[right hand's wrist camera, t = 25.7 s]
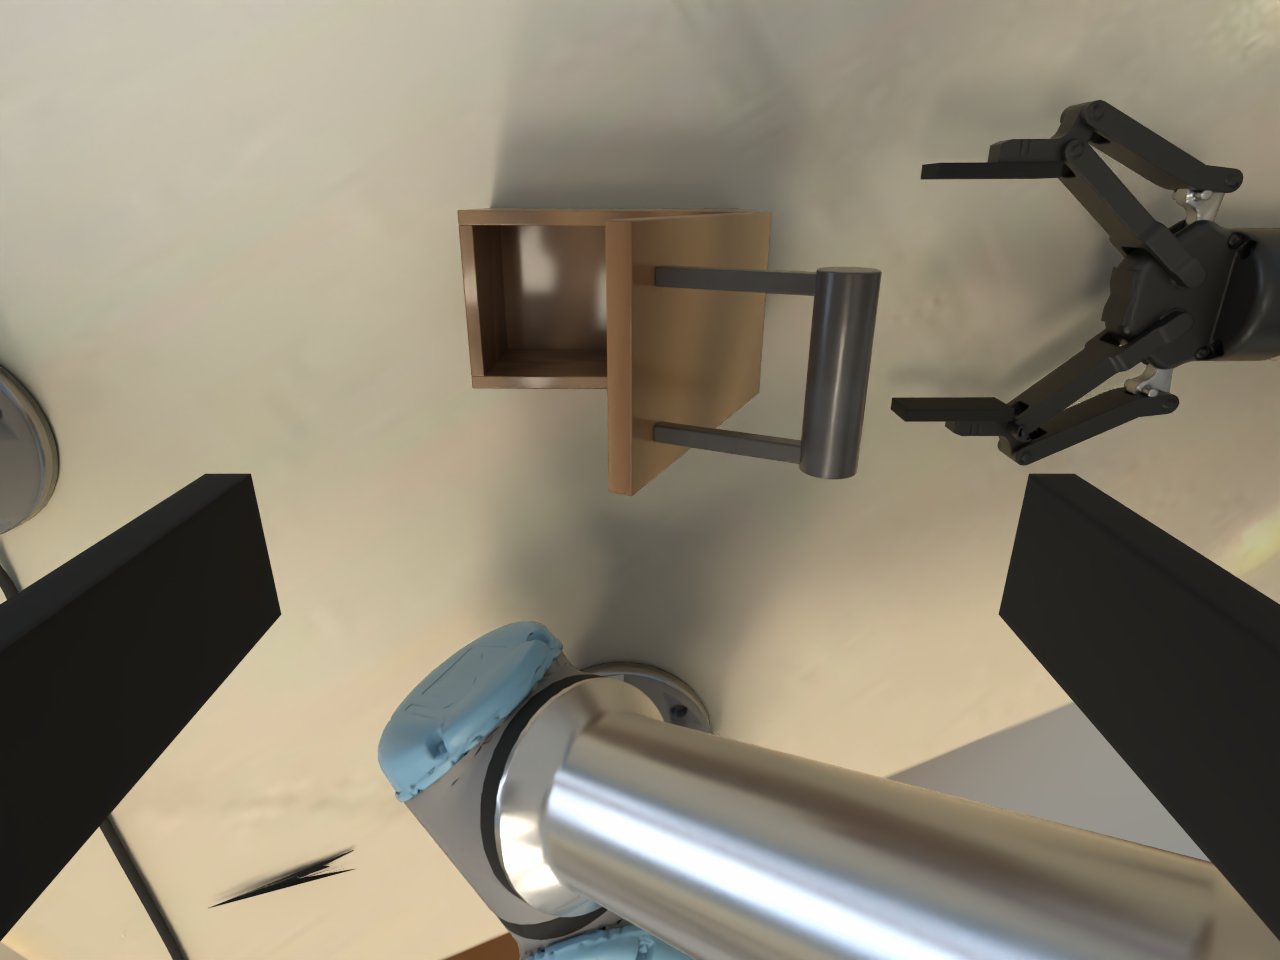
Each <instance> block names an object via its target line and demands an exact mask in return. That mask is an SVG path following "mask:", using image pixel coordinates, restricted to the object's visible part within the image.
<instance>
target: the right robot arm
mask: <svg viewBox="0 0 1280 960" xmlns="http://www.w3.org/2000/svg"><path fill="white" fill-rule="evenodd" d="M57 474H58V457H57V450H56V445H55V441H54V438H53V435H52V432H51V429H50V427H49V425H48V423H47V421H46V418H45V416H44V415H43V413H42V411H41V410H40V408H39V406H38V405H37V403H36V402H35V401H34V399H33V398H32V396H31V395H30V394H29V393H28V392H27V390H26V389H25V388H24V387H23V386H22V385H21V384H20V383H19V382H18V381H17V380H16V379H15V378H14V377H13V376H12V375H11V374H10V373H9V372H8V371H6V370H5V369H4V368H3V367H1V366H0V534H3V533H5V532H7V531H9V530H11V529H13V528H15V527H17V526H19V525H20V524H22V523H24V522H26V521H28V520H29V519H31V518H32V517H34V516H35V515H36V514H37V513H38V512H40V511H41V510H42V508H43V507H44V506H45V505H46V503H47V502H48V500H49V499H50V497H51V495H52V493H53V490H54V487H55V484H56V480H57ZM0 587H1V589H2V590H3V592H4V594H5V596H6V598H7V601H5V602H4V603H2V604H0V941H1V940H2V939H3V938H4V936H5V935H6V934H7V933H8V932H9V931H10V929H11V928H12V927H13V926H14V925H15V924H16V922H17V921H18V920H19V919H20V918H21V917H22V915H23V914H24V913H25V912H26V911H27V910H28V908H29V907H30V906H31V905H32V904H33V903H34V902H35V900H36V899H37V898H38V897H39V896H40V895H41V893H42V892H43V891H44V890H45V889H46V888H47V886H48V885H49V884H50V883H51V882H52V881H53V879H54V878H55V877H56V876H57V875H58V874H59V872H60V871H61V870H62V869H63V868H64V867H65V865H66V864H67V863H68V862H69V861H70V860H71V858H72V857H73V856H74V855H75V854H76V853H77V851H78V850H79V849H80V848H81V847H82V846H83V844H84V843H85V842H86V841H87V840H88V839H89V838H90V836H91V835H92V834H93V833H94V832H95V831H96V829H97V828H98V827H100V828H101V830H102V832H103V834H104V836H105V838H106V839H107V841H108V843H109V845H110V847H111V848H112V850H113V852H114V854H115V856H116V857H117V859H118V861H119V863H120V865H121V866H122V868H123V870H124V872H125V874H126V875H127V877H128V879H129V881H130V882H131V884H132V886H133V888H134V889H135V891H136V893H137V895H138V896H139V898H140V900H141V902H142V904H143V905H144V907H145V909H146V911H147V913H148V914H149V916H150V918H151V920H152V922H153V923H154V925H155V927H156V929H157V931H158V932H159V934H160V936H161V938H162V940H163V942H164V943H165V945H166V947H167V949H168V951H169V953H170V955H171V957H172V959H173V960H185V959H184V957H183V955H182V953H181V951H180V949H179V947H178V945H177V944H176V942H175V940H174V938H173V936H172V934H171V932H170V930H169V928H168V927H167V925H166V923H165V921H164V919H163V917H162V916H161V914H160V912H159V910H158V908H157V906H156V904H155V903H154V901H153V899H152V897H151V895H150V894H149V892H148V890H147V888H146V886H145V885H144V883H143V881H142V879H141V878H140V876H139V874H138V872H137V870H136V869H135V867H134V865H133V863H132V861H131V859H130V858H129V856H128V854H127V852H126V850H125V848H124V847H123V845H122V843H121V841H120V839H119V837H118V836H117V834H116V832H115V830H114V828H113V826H112V825H111V823H110V821H109V819H108V815H109V814H110V813H111V812H112V811H113V810H114V808H115V807H116V806H117V805H118V804H119V803H120V801H121V800H122V799H123V798H124V797H125V796H126V794H127V793H128V792H129V791H130V790H131V789H132V787H133V786H134V785H135V784H136V783H137V782H138V780H139V779H140V778H141V777H142V776H143V775H144V774H145V772H146V771H147V770H148V769H149V768H150V767H151V765H152V764H153V763H154V762H155V761H156V760H157V758H158V757H159V756H160V755H161V754H162V753H163V751H164V750H165V749H166V748H167V747H168V746H169V744H170V743H171V742H172V741H173V740H174V739H175V737H176V736H177V735H178V734H179V733H180V732H181V730H182V729H183V728H184V727H185V726H186V725H187V723H188V722H189V721H190V720H191V719H192V718H193V716H194V715H195V714H196V713H197V712H198V711H199V710H200V708H201V707H202V706H203V705H204V704H205V703H206V701H207V700H208V699H209V698H210V697H211V696H212V694H213V693H214V692H215V691H216V690H217V689H218V687H219V686H220V685H221V684H222V683H223V682H224V680H225V679H226V678H227V677H228V676H229V675H230V673H231V672H232V671H233V670H234V669H235V668H236V666H237V665H238V664H239V663H240V662H241V661H242V659H243V658H244V657H245V656H246V655H247V654H248V653H249V651H250V650H251V649H252V648H253V647H254V646H255V644H256V643H257V642H258V641H259V640H260V639H261V637H262V636H263V635H264V634H265V633H266V632H267V630H268V629H269V628H270V627H271V626H272V625H273V623H274V622H275V621H276V620H277V619H278V618H279V616H280V615H281V611H280V606H279V602H278V597H277V592H276V588H275V583H274V579H273V574H272V569H271V565H270V560H269V555H268V551H267V546H266V542H265V537H264V532H263V528H262V523H261V518H260V514H259V509H258V505H257V500H256V495H255V491H254V486H253V481H252V477H251V474H204V475H203V476H201V477H200V478H198V479H197V480H195V481H193V482H192V483H190V484H189V485H187V486H186V487H184V488H182V489H181V490H179V491H178V492H176V493H175V494H173V495H171V496H170V497H168V498H167V499H165V500H164V501H162V502H160V503H159V504H157V505H156V506H154V507H153V508H151V509H149V510H148V511H146V512H145V513H143V514H142V515H140V516H139V517H137V518H135V519H134V520H132V521H131V522H129V523H128V524H126V525H124V526H123V527H121V528H120V529H118V530H117V531H115V532H113V533H112V534H110V535H109V536H107V537H106V538H104V539H102V540H101V541H99V542H98V543H96V544H95V545H93V546H91V547H90V548H88V549H87V550H85V551H84V552H82V553H80V554H79V555H77V556H76V557H74V558H73V559H71V560H69V561H68V562H66V563H65V564H63V565H62V566H60V567H58V568H57V569H55V570H54V571H52V572H51V573H49V574H47V575H46V576H44V577H43V578H41V579H40V580H38V581H36V582H35V583H33V584H32V585H30V586H29V587H27V588H26V589H24V590H22V591H21V592H19V593H18V590H17V588H16V587H15V585H14V583H13V582H12V580H11V579H10V577H9V576H8V574H7V573H6V572H5V570H4V569H3V568H2V566H1V565H0ZM999 615H1000V616H1001V618H1002V619H1003V620H1004V621H1005V622H1006V623H1007V625H1008V626H1009V627H1010V628H1011V629H1012V630H1013V632H1014V633H1015V634H1016V635H1017V636H1018V637H1019V639H1020V640H1021V641H1022V642H1023V643H1024V644H1025V646H1026V647H1027V648H1028V649H1029V650H1030V651H1031V653H1032V654H1033V655H1034V656H1035V657H1036V658H1037V659H1038V661H1039V662H1040V663H1041V664H1042V665H1043V666H1044V668H1045V669H1046V670H1047V671H1048V672H1049V673H1050V675H1051V676H1052V677H1053V678H1054V679H1055V680H1056V682H1057V683H1058V684H1059V685H1060V686H1061V687H1062V689H1063V690H1064V691H1065V692H1066V693H1067V694H1068V696H1069V697H1070V698H1071V699H1072V700H1073V701H1074V703H1075V704H1076V705H1077V706H1078V707H1079V708H1080V709H1081V711H1082V712H1083V713H1084V714H1085V715H1086V716H1087V718H1088V719H1089V720H1090V721H1091V722H1092V723H1093V725H1094V726H1095V727H1096V728H1097V729H1098V730H1099V732H1100V733H1101V734H1102V735H1103V736H1104V737H1105V739H1106V740H1107V741H1108V742H1109V743H1110V744H1111V746H1112V747H1113V748H1114V749H1115V750H1116V751H1117V753H1118V754H1119V755H1120V756H1121V757H1122V758H1123V760H1124V761H1125V762H1126V763H1127V764H1128V765H1129V766H1130V768H1131V769H1132V770H1133V771H1134V772H1135V774H1136V775H1137V776H1138V777H1139V778H1140V779H1141V780H1142V782H1143V783H1144V784H1145V785H1146V786H1147V787H1148V789H1149V790H1150V791H1151V792H1152V793H1153V794H1154V796H1155V797H1156V798H1157V799H1158V800H1159V801H1160V803H1161V804H1162V805H1163V806H1164V807H1165V808H1166V809H1167V811H1168V812H1169V813H1170V814H1171V815H1172V817H1173V818H1174V819H1175V820H1176V821H1177V822H1178V824H1179V825H1180V826H1181V827H1182V828H1183V829H1184V830H1185V832H1186V833H1187V834H1188V835H1189V836H1190V837H1191V839H1192V840H1193V841H1194V842H1195V843H1196V844H1197V846H1198V847H1199V848H1200V849H1201V850H1202V851H1203V853H1204V854H1205V855H1206V856H1207V857H1208V858H1209V860H1210V861H1211V862H1212V863H1213V864H1214V865H1215V867H1216V868H1217V869H1218V870H1219V871H1220V872H1221V874H1222V875H1223V876H1224V877H1225V878H1226V879H1227V881H1228V882H1229V883H1230V884H1231V885H1232V886H1233V888H1234V889H1235V890H1236V891H1237V892H1238V893H1239V895H1240V896H1241V897H1242V898H1243V899H1244V900H1245V902H1246V903H1247V904H1248V905H1249V906H1250V907H1251V908H1252V910H1253V911H1254V912H1255V913H1256V914H1257V915H1258V917H1259V918H1260V919H1261V920H1262V921H1263V922H1264V924H1265V925H1266V926H1267V927H1268V928H1269V929H1270V931H1271V932H1272V933H1273V934H1274V935H1275V936H1276V938H1277V939H1278V940H1279V941H1280V604H1278V603H1276V602H1275V601H1273V600H1272V599H1270V598H1269V597H1267V596H1265V595H1264V594H1262V593H1261V592H1259V591H1258V590H1256V589H1254V588H1253V587H1251V586H1250V585H1248V584H1247V583H1245V582H1243V581H1242V580H1240V579H1239V578H1237V577H1236V576H1234V575H1233V574H1231V573H1229V572H1228V571H1226V570H1225V569H1223V568H1222V567H1220V566H1218V565H1217V564H1215V563H1214V562H1212V561H1211V560H1209V559H1207V558H1206V557H1204V556H1203V555H1201V554H1200V553H1198V552H1196V551H1195V550H1193V549H1192V548H1190V547H1189V546H1187V545H1185V544H1184V543H1182V542H1181V541H1179V540H1178V539H1176V538H1174V537H1173V536H1171V535H1170V534H1168V533H1167V532H1165V531H1163V530H1162V529H1160V528H1159V527H1157V526H1156V525H1154V524H1152V523H1151V522H1149V521H1148V520H1146V519H1145V518H1143V517H1141V516H1140V515H1138V514H1137V513H1135V512H1134V511H1132V510H1131V509H1129V508H1127V507H1126V506H1124V505H1123V504H1121V503H1120V502H1118V501H1116V500H1115V499H1113V498H1112V497H1110V496H1109V495H1107V494H1105V493H1104V492H1102V491H1101V490H1099V489H1098V488H1096V487H1094V486H1093V485H1091V484H1090V483H1088V482H1087V481H1085V480H1083V479H1082V478H1080V477H1079V476H1077V475H1076V474H1029V477H1028V481H1027V486H1026V491H1025V495H1024V500H1023V505H1022V509H1021V514H1020V518H1019V523H1018V528H1017V532H1016V537H1015V542H1014V546H1013V551H1012V555H1011V560H1010V565H1009V569H1008V574H1007V579H1006V583H1005V588H1004V592H1003V597H1002V602H1001V606H1000V611H999Z"/></svg>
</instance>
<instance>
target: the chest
mask: <svg viewBox="0 0 1280 960" xmlns="http://www.w3.org/2000/svg"><path fill="white" fill-rule="evenodd" d="M739 212H759V211H751V210H743V209H605V208H484V209H470V210H458V223H459V235H460V246H461V258H462V270H463V282H464V293H465V305H466V317H467V329H468V341H469V352H470V364H471V375H472V387H473V388H528V389H608V383H607V308H606V233H605V221H606V220H610V219H628V218H647V217H665V216H684V215H702V214H721V213H739Z"/></svg>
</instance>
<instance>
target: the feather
mask: <svg viewBox="0 0 1280 960" xmlns="http://www.w3.org/2000/svg"><path fill="white" fill-rule="evenodd" d="M352 851H354V850H352ZM352 851H350V852H352ZM350 852H347V853H345V854H342V855H340V856H337V857H335V858H332V859H330V860H327V861H325V862H322V863H320V864H317V865H315V866H312V867H310V868H307V869H305V870H302V871H300V872H297V873H295V874H292V875H290V876H287V877H285V878H282V879H280V880H277V881H275V882H272V883H270V884H267V885H265V886H262V887H260V888H257V889H255V890H252V891H250V892H247V893H245V894H242V895H240V896H237V897H235V898H232V899H230V900H227V901H225V902H222V903H220V904H217V905H215V906H219V905H222V904H226V903H230V902H234V901H237V900H241V899H245V898H249V897H252V896H256V895H260V894H264V893H267V892H271V891H275V890H279V889H282V888H286V887H290V886H294V885H297V884H301V883H305V882H309V881H312V880H316V879H320V878H324V877H327V876H331V875H335V874H339V873H342V872H346V871H350V870H345V871H339V872H334V873H330V872H329V873H328V874H327V873H326V874H322V875H316V876H312V875H310V877H308V876H307V875H309V874H310V873H313V872H316V871H319V870H322V869H325V868H327V867H330V866H324V865H326V864H328V863H330V862H332V861H334V860H336V859H338V858H340V857H342V856H344V855H346V854H348V853H350ZM330 864H331V863H330ZM333 869H334V868H333ZM343 869H344V868H343ZM351 870H353V869H351ZM336 871H337V870H336ZM323 872H324V871H323ZM320 873H321V872H320ZM316 874H318V873H316ZM313 875H315V874H313ZM304 876H307V877H304ZM302 877H304V878H302ZM215 906H212V907H215ZM210 908H211V907H210ZM124 936H125V934H124V935H123V937H124Z"/></svg>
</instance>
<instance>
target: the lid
mask: <svg viewBox="0 0 1280 960" xmlns="http://www.w3.org/2000/svg"><path fill="white" fill-rule="evenodd" d="M770 224H771V212H739V213H721V214H702V215H684V216H665V217H647V218H628V219H610V220H606V221H605V233H606V308H607V383H608V458H609V492H613V493H618V494H623V495H629V496H632V495H634V494H635V493H636V492H637V491H639V490H640V489H641V488H642V487H644V486H645V485H646V484H647V483H649V482H650V481H651V480H652V479H653V478H655V477H656V476H657V475H658V474H660V473H661V472H662V471H663V470H665V469H666V468H667V467H668V466H669V465H671V464H672V463H673V462H674V461H676V460H677V459H678V458H679V457H681V456H682V455H683V454H684V453H685V452H687V451H688V450H689V449H690V448H698V449H705V450H712V451H718V452H725V453H731V454H738V455H745V456H751V457H758V458H764V459H771V460H777V461H784V462H791V463H797V464H799V468H800V470H801V471H802V472H804V473H806V474H808V475H811V476H814V477H818V478H824V479H844V478H849V477H852V476H854V475H855V474H856V472H857V466H858V458H859V450H860V442H861V434H862V426H863V418H864V410H865V402H866V394H867V386H868V378H869V370H870V362H871V354H872V346H873V337H874V329H875V321H876V313H877V305H878V297H879V289H880V281H881V273H882V272H881V271H880V270H877V269H871V268H859V267H825V268H819V269H817V272H802V271H780V270H767V269H768V254H769V239H770ZM766 293H773V294H791V295H808V296H814V306H813V317H812V328H811V339H810V350H809V361H808V372H807V383H806V394H805V404H804V415H803V426H802V437H801V441H800V440H793V439H785V438H778V437H771V436H764V435H756V434H749V433H742V432H735V431H728V430H720V429H715V428H716V427H717V426H719V425H720V424H721V423H722V422H724V421H725V420H726V419H727V418H729V417H730V416H731V415H732V414H734V413H735V412H736V411H737V410H738V409H740V408H741V407H742V406H743V405H745V404H746V403H747V402H748V401H750V400H751V399H752V398H753V397H754V396H756V395H757V394H758V393H759V388H760V373H761V358H762V343H763V328H764V314H765V299H766Z"/></svg>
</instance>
